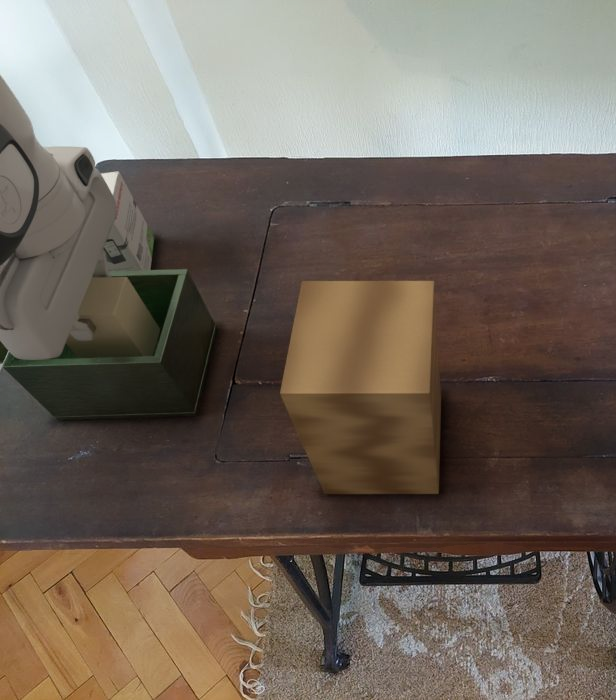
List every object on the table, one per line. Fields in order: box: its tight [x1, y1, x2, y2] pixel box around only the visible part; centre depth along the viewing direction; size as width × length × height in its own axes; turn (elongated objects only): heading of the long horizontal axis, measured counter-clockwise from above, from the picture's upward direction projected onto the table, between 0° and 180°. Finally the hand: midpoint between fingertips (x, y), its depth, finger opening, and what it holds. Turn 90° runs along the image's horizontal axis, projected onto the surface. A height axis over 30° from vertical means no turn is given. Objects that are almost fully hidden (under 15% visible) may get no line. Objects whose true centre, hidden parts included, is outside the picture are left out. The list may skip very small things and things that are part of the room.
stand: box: [279, 280, 442, 495], centre depth 63 cm, size 12×12×20 cm
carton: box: [66, 277, 160, 358], centre depth 69 cm, size 5×7×9 cm
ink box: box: [100, 170, 155, 271], centre depth 83 cm, size 9×5×12 cm, turn 10°
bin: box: [2, 268, 218, 421], centre depth 73 cm, size 16×13×11 cm
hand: (96, 310), depth 68 cm, fingers closed on carton, 5 cm apart
